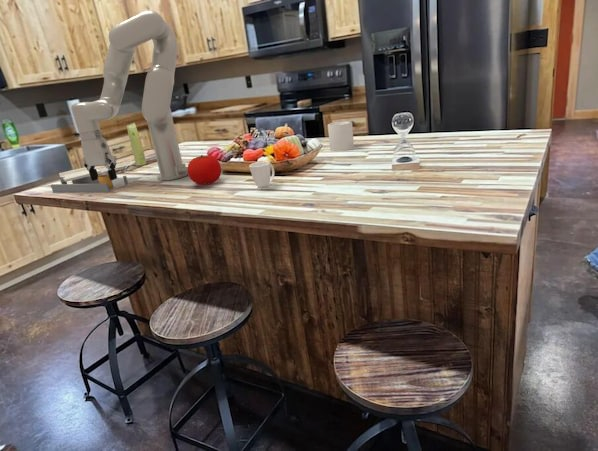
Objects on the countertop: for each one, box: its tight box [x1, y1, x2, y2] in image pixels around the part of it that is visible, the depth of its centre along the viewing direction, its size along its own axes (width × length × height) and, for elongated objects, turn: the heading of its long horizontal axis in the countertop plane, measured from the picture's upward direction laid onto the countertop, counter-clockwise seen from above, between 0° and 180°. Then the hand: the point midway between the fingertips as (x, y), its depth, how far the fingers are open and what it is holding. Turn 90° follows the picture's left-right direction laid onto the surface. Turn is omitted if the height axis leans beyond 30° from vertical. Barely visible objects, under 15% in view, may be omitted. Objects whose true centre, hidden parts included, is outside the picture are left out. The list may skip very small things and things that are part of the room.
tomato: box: [187, 154, 222, 185], centre depth 152 cm, size 11×12×10 cm
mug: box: [327, 120, 355, 152], centre depth 180 cm, size 14×10×11 cm
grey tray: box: [50, 175, 143, 194], centre depth 173 cm, size 30×20×4 cm, turn 68°
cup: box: [248, 160, 275, 191], centre depth 139 cm, size 7×10×8 cm
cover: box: [58, 166, 102, 184], centre depth 178 cm, size 15×11×5 cm
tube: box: [126, 122, 148, 167], centre depth 200 cm, size 6×5×20 cm
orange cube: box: [98, 173, 114, 189], centre depth 166 cm, size 5×5×5 cm
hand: (104, 179), depth 165 cm, fingers open, 9 cm apart
